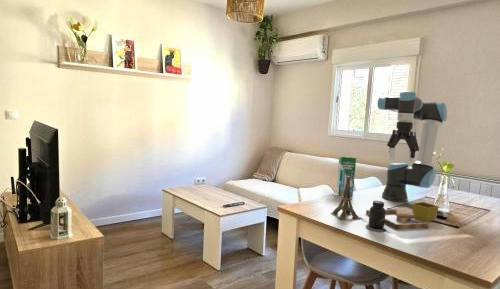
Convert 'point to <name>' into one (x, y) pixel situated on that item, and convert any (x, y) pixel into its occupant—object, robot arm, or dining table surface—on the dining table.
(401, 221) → the offcut middle
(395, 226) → the frame
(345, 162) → the milk carton
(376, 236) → the dining table surface
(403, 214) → the offcut top
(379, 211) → the supplement bottle
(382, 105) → the robot arm
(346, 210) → the eiffel tower
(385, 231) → the coaster
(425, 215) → the flower pot
